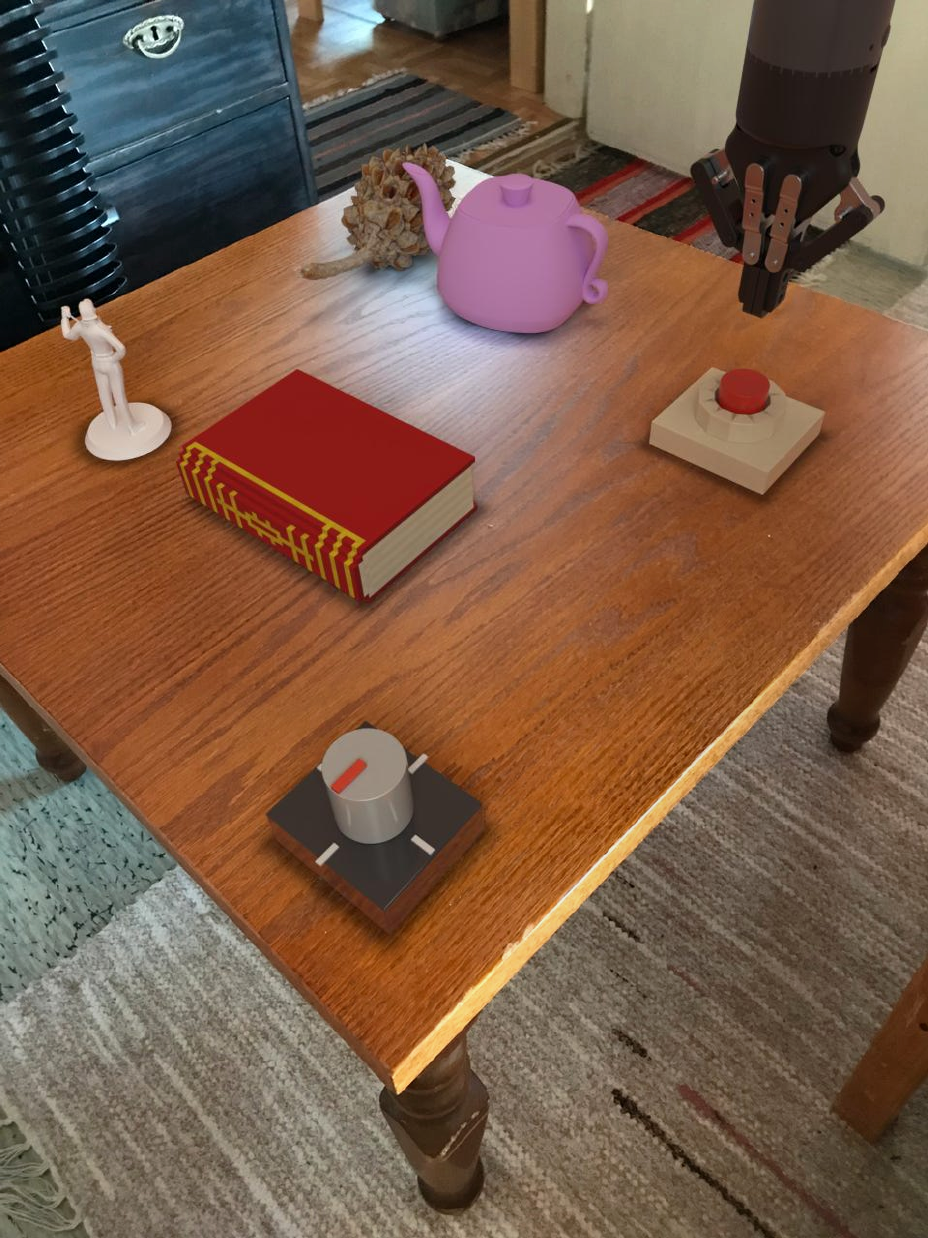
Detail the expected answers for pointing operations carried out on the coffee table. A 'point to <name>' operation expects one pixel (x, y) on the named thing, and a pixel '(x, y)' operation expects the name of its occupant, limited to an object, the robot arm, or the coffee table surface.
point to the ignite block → (736, 433)
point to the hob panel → (388, 870)
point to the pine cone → (388, 213)
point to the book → (331, 482)
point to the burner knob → (368, 785)
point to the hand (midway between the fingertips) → (758, 310)
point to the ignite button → (743, 391)
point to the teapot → (513, 252)
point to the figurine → (114, 395)
